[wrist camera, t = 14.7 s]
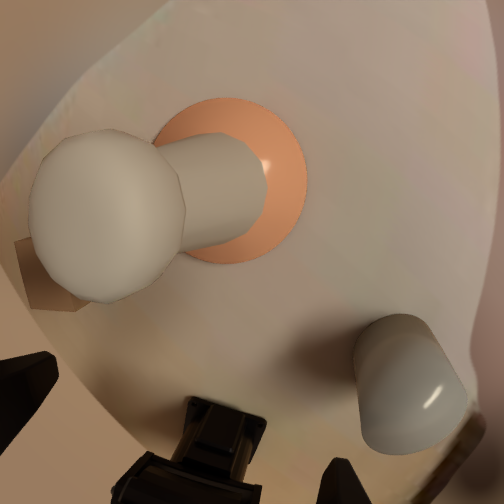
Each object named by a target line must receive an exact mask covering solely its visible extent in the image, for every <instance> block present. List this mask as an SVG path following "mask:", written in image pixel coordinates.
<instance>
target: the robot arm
mask: <svg viewBox="0 0 504 504" xmlns="http://www.w3.org/2000/svg"><path fill="white" fill-rule="evenodd" d="M58 377H59V372H58V367H57V361H56V357H55V356H54V355H52V354H51V353H49V352H47V351H42V352H37V353H34V354H28V355H24V356H19V357H14V358H10V359H5V360H0V456H1V454H2V453H3V452H4V450H5V449H6V448H7V447H8V446H9V444H10V443H11V442H12V441H13V439H14V438H15V437H16V436H17V434H18V433H19V432H20V431H21V430H22V428H23V427H24V426H25V425H26V423H27V422H28V421H29V420H30V419H31V417H32V416H33V415H34V414H35V412H36V411H37V410H38V408H39V407H40V406H41V404H42V403H43V401H44V399H45V398H46V396H47V395H48V394H49V392H50V391H51V389H52V388H53V386H54V384H55V383H56V382H57V380H58ZM194 402H195V403H196V404H195V403H194ZM259 423H260V424H259ZM266 425H267V421H266V420H265V419H263V418H259V417H256V416H252V415H249V414H245V413H242V412H239V411H235V410H232V409H229V408H226V407H223V406H220V405H217V404H214V403H211V402H208V401H205V400H202V399H199V398H197V397H192V398H191V399H190V400H189V402H188V408H187V413H186V419H185V425H184V431H183V437H182V438H181V440H180V442H179V444H178V446H177V448H176V450H175V452H174V454H173V456H172V458H171V459H170V460H167V459H165V458H162V457H159V456H157V455H154V453H152V452H150V451H147V452H146V453H145V454H144V455H143V456H142V457H140V458H139V459H138V460H137V461H136V462H135V463H134V464H133V466H131V468H130V469H129V470H128V471H127V472H126V473H125V474H124V475H123V476H122V477H121V478H120V479H119V480H118V482H117V483H116V485H115V486H113V487H112V489H111V494H112V499H111V504H259V502H260V496H261V490H262V485H257V484H255V485H252V484H248V483H244V482H243V480H244V476H245V473H246V469H247V465H248V464H250V462H251V460H252V458H253V456H254V454H255V451H256V449H257V447H258V445H259V442H260V440H261V438H262V435H263V433H264V431H265V428H266ZM316 504H372V503H371V501H370V499H369V497H368V495H367V494H366V492H365V490H364V488H363V486H362V484H361V482H360V480H359V478H358V477H357V475H356V473H355V471H354V469H353V467H352V465H351V463H350V462H349V460H348V459H344V458H338V457H335V458H334V459H333V460H332V461H331V462H330V464H329V465H328V467H327V468H326V470H325V471H324V473H323V476H322V479H321V484H320V488H319V493H318V497H317V502H316Z"/></svg>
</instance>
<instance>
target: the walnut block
mask: <svg viewBox="0 0 504 504" xmlns="http://www.w3.org/2000/svg"><path fill="white" fill-rule="evenodd" d="M14 243H15V248H16V253H17V258H18V262H19V266H20V271H21V275H22V279H23V283H24V286H25V290H26V294H27V297H28V301H29V304H30V307H31V309H42V310H55V311H69V312H76V311H78V310H79V309H81V308H82V307H84V306H85V305H87V304H88V303H90V302H91V301H86V300H80V299H79V298H77V297H76V296H75V295H73V294H72V293H70V292H69V291H67V290H66V289H65V288H63V287H62V286H60V285H59V284H58V283H56V282H55V281H54V280H53V279H52V278H51V277H50V275H49V274H48V272H47V271H46V269H45V267H44V266H43V264H42V263H41V261H40V259H39V258H38V256H37V255H36V252H35V248H34V245H33V241H32V238H31V237H28V238H25V239H22V240H19V241H16V242H14Z"/></svg>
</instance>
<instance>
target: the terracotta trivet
mask: <svg viewBox="0 0 504 504" xmlns="http://www.w3.org/2000/svg"><path fill="white" fill-rule="evenodd" d="M218 132H222V133H225V134H227V135H229V136H231V137H234V138H236V139H238V140H240V141H243V142H245V143H246V144H247V146H248V147H249V148H250V149H251V150H252V151H253V153H254V154H255V155H256V156H257V157H258V158H259V160H260V161H261V162H262V165H263V169H264V174H265V178H266V182H267V186H268V189H267V194H266V198H265V203H264V207H263V212H262V214H261V216H260V217H259V218H258V219H257V221H256V222H255V223H254V224H253V226H252V227H251V228H250V229H249V231H248V232H247V233H246V234H244V235H242V236H239V237H237V238H235V239H233V240H231V241H229V242H227V243H225V244H220V245H216V246H211V247H206V248H202V249H197V250H192V251H188V252H185V253H187V254H189V255H191V256H193V257H195V258H198V259H201V260H203V261H208V262H212V263H220V264H234V263H240V262H245V261H249V260H252V259H255V258H257V257H259V256H261V255H264V254H265V253H267V252H268V251H270V250H272V249H273V248H274V247H276V246H277V245H278V244H279V243H280V242H282V240H283V239H284V238H285V237H286V236H287V235H288V234H289V233H290V231H291V230H292V228H293V227H294V225H295V224H296V222H297V220H298V218H299V216H300V214H301V211H302V208H303V205H304V202H305V197H306V192H307V168H306V164H305V159H304V156H303V153H302V150H301V148H300V146H299V144H298V142H297V140H296V138H295V136H294V135H293V133H292V132H291V131H290V129H289V128H288V127H287V126H286V124H285V123H284V122H283V121H282V120H281V119H280V118H278V117H277V116H276V115H275V114H273V113H272V112H271V111H269V110H267V109H266V108H264V107H262V106H260V105H258V104H255V103H253V102H250V101H246V100H242V99H236V98H216V99H210V100H206V101H202V102H199V103H197V104H194V105H192V106H190V107H188V108H186V109H185V110H183V111H182V112H180V113H179V114H177V115H176V116H175V117H174V118H173V119H171V120H170V121H169V123H168V124H167V125H166V126H165V127H164V128H163V129H162V131H161V132H160V134H159V135H158V137H157V138H156V140H155V142H154V144H153V145H154V146H155V147H159V146H162V145H165V144H168V143H171V142H174V141H177V140H180V139H184V138H187V137H190V136H194V135H197V134H206V133H218Z"/></svg>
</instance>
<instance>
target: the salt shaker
mask: <svg viewBox="0 0 504 504" xmlns="http://www.w3.org/2000/svg"><path fill="white" fill-rule="evenodd" d="M267 189H268V186H267V182H266V178H265V174H264V169H263V165H262V162H261V161H260V160H259V158H258V157H257V156H256V155H255V154H254V153H253V151H252V150H251V149H250V148H249V147H248V146H247V144H246V143H245V142H243V141H240V140H238V139H236V138H234V137H231V136H229V135H227V134H225V133H222V132H218V133H206V134H197V135H194V136H190V137H187V138H184V139H180V140H177V141H174V142H171V143H168V144H165V145H162V146H159V147H155V146H154V145H153V144H151V143H149V142H146V141H144V140H142V139H139V138H137V137H135V136H132V135H130V134H128V133H125V132H122V131H118V130H114V129H105V130H99V131H94V132H89V133H85V134H80V135H76V136H72V137H68V138H65V139H64V140H62V141H61V142H60V143H59V144H58V145H57V146H56V147H55V148H54V149H53V150H52V151H51V152H50V153H49V154H48V155H47V156H46V157H45V158H44V159H43V160H42V163H41V165H40V168H39V170H38V173H37V175H36V178H35V181H34V183H33V186H32V189H31V192H30V195H29V214H28V226H29V230H30V234H31V238H32V241H33V245H34V248H35V252H36V255H37V256H38V258H39V259H40V261H41V263H42V264H43V266H44V267H45V269H46V271H47V272H48V274H49V275H50V277H51V278H52V279H53V280H54V281H55V282H56V283H58V284H59V285H60V286H62V287H63V288H65V289H66V290H67V291H69V292H70V293H72V294H73V295H75V296H76V297H77V298H79V299H80V300H86V301H92V302H98V303H104V304H110V303H113V302H115V301H118V300H121V299H123V298H125V297H128V296H130V295H132V294H134V293H136V292H138V291H140V290H142V289H144V288H146V287H148V286H150V285H151V284H152V283H153V282H155V281H156V280H157V279H158V278H159V277H160V276H161V275H162V274H163V272H164V271H165V269H166V268H167V266H168V265H169V264H170V262H171V261H172V259H173V258H174V256H175V255H176V254H178V253H183V252H188V251H192V250H197V249H202V248H206V247H211V246H216V245H220V244H225V243H227V242H229V241H231V240H233V239H235V238H237V237H239V236H242V235H244V234H246V233H247V232H248V231H249V229H250V228H251V227H252V226H253V224H254V223H255V222H256V221H257V219H258V218H259V217H260V216H261V214H262V212H263V207H264V203H265V198H266V194H267Z"/></svg>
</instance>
